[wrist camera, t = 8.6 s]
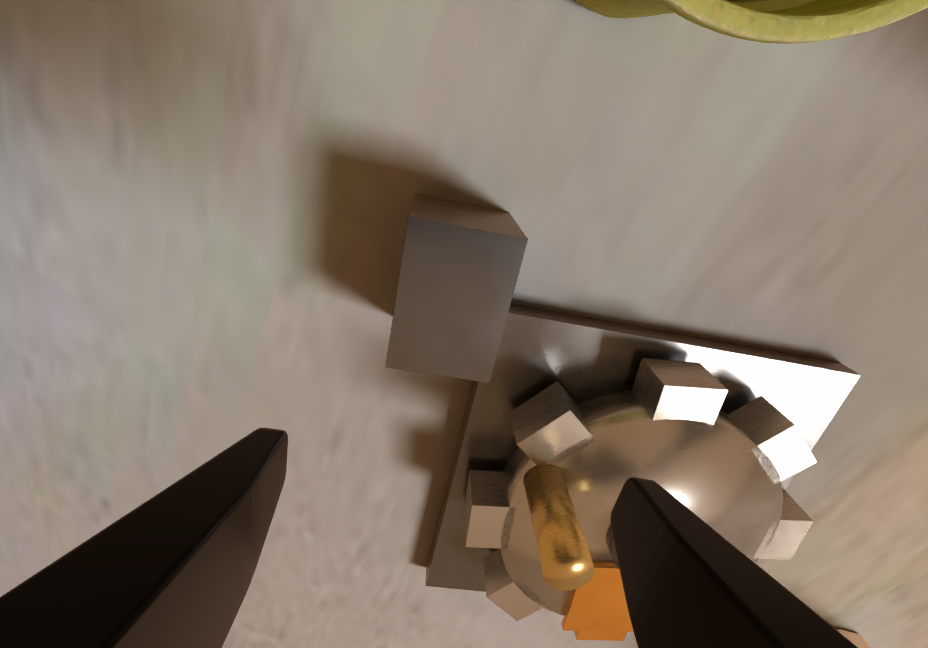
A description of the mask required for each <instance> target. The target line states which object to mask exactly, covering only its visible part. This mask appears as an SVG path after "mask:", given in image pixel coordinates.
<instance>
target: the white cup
mask: <svg viewBox="0 0 928 648" xmlns="http://www.w3.org/2000/svg"><path fill="white" fill-rule="evenodd" d="M837 631H838V632H840V633H841V634H842V635H843V636H845V637H846V638H847V639H848V640H849V641H851V642H852V643H853V644H854V645H856V646H857V647H858V648H871V647H870V646H869V644H868V643H867V642H866V641H865V640H864V639H863V637H862V636H861V635H859V634H856V633H853V632H849V631H846V630H842V629H838V630H837Z"/></svg>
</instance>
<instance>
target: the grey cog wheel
mask: <svg viewBox="0 0 928 648" xmlns="http://www.w3.org/2000/svg"><path fill="white" fill-rule="evenodd" d="M727 392H728V390H727V389H726V388H725V387H724V386H723V385H722V384H721V383H720V382H719V381H718V380H717V379H716V378H715V377H714V376H713V375H712V374H711V373H710V372H709V371H708V370H707V369H706V368H705V367H704V366H702V365H701V364H700V363H699V362H686V361H673V360H660V359H647V358H642V360H641V363H640V366H639V370H638V373H637V376H636V379H635V382H634V386H633V389H632V391H623V392H618V393H614V394H609V395H604V396H601V397H598V398H595V399H592V400H588V401H585V402H583V403H581V404H579V405H577V403H576V402H575V401H574V400H573V399H572V398H571V396H570V395H569V394H568V393H567V392H566V390H565V389H564V388H563V387H562V386H561V385H560V383H559V382H558V381H556V382H555V383H553V384H552V385H550V386H549V387H547V388H546V389H544V390H543V391H541V392H540V393H538V394H537V395H535V396H534V397H532V398H531V399H529V400H528V401H526V402H525V403H523V404H522V405H520V406H519V407H517V408H516V409H514V410H513V411H511V412H510V417H511V421H512V426H513V430H514V434H515V439H516V443H517V445H518V446H519V448H518V449H517V451H516V452H515V453H514V455H513V456H512V458H511V459H510V461H509V462H508V464H507V465H506V468H505V470H504V472H500V471H481V470H469V477H468V483H467V490H466V497H465V504H464V526H465V545H466V547H477V548H499V549H497V550H496V551H494V552H492V553H490V554H489V555H487V556H485V557H484V558H483V563H484V573H485V584H486V595H487V598H489V599H490V600H491V601H492V602H494V603H495V604H496V605H497V606H499V607H500V608H501V609H502V610H504V611H505V612H506V613H508V614H509V615H510V616H511V617H513V618H514V619H515V620H516V621H519V620H521V619H523V618H524V617H526V616H528V615H530V614H532V613H534V612H536V611H538V610H540V609H541V608H543V607H544V608H546V609H548V610H550V611H553V612H555V613H558V614H561V615H564V618H563V621H562V627H563V630H569V631H574V632H575V636H576V640H614V641H623V640H624V638H625V636H626V633H627V632H634V631H633V627H632V624H631V620H630V616H629V612H628V608H627V603H626V599H625V594H624V589H623V584H622V579H621V574H620V569H619V564H618V559H617V554H616V549H615V544H614V539H613V534H612V529H611V521H610V519H611V512H612V509H613V507H614V505H615V502H616V500H617V498H618V496H619V494H620V492H621V490H622V487H623V485H624V483H625V481H626V480H627V479H628V478H631V477H638V478H645V479H651V480H654V481H655V482H657V483H658V484H659V485H660V486H662V487H663V488H664V489H665V490H666V491H668V492H669V493H670V494H671V495H673V496H674V497H675V498H676V499H677V500H679V501H680V502H681V503H682V504H684V505H685V506H686V507H687V508H688V509H690V510H691V511H692V512H693V513H695V514H696V515H697V516H698V517H699V518H701V519H702V520H703V521H704V522H705V523H707V524H708V525H709V526H710V527H712V528H713V529H714V530H715V531H716V532H718V533H719V534H720V535H721V536H723V537H724V538H725V539H726V540H727V541H729V542H730V543H731V544H732V545H734V546H735V547H736V548H737V549H738V550H740V551H741V552H742V553H743V554H745V555H746V556H747V557H748V558H749V559H751V560H752V561H753V562H754V563H755V562H756V561H757V560H758V559H784V560H791V558H792V556H793V555H794V553H795V551H796V550H797V548H798V546H799V545H800V543H801V541H802V540H803V538H804V536H805V535H806V533H807V531H808V530H809V528H810V526H811V524H812V523H813V521H812V519H811V518H810V517H809V516H808V515H807V514H806V513H805V512H804V511H803V510H802V509H801V507H800V506H799V505H798V504H797V503H796V502H795V501H794V500H793V499H792V498H791V496H790V495H789V494H788V493H787V492H786V491H785V490H784V489H783V488H782V484H781V481H783V480H785V479H786V478H788V477H790V476H792V475H794V474H796V473H798V472H800V471H802V470H803V469H805V468H807V467H809V466H811V465H813V464H815V463H817V461H816V460H815V458H814V456H813V455H812V453H811V451H810V450H809V448H808V446H807V444H806V443H805V441H804V439H803V438H802V436H801V434H800V433H799V431H798V429H797V428H796V426H795V425H794V424H793V423H792V422H791V421H790V420H789V419H787V418H786V417H785V416H784V415H783V414H782V413H781V412H780V411H778V410H777V409H776V408H775V407H774V406H773V405H772V404H770V403H769V402H768V401H767V400H766V399H765V398H764V397H762V396H759V397H757V398H756V399H754V400H752V401H751V402H749V403H747V404H745V405H744V406H742V407H740V408H739V409H737V410H735V411H733V412H732V413H730V414H728V415H727V414H726V413H725V412H724V411H722V410H721V409H720V408H721V406H722V404H723V401H724V399H725V396H726V394H727Z"/></svg>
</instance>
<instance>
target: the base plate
mask: <svg viewBox="0 0 928 648" xmlns="http://www.w3.org/2000/svg"><path fill="white" fill-rule="evenodd" d="M642 358H647V359H660V360H673V361H686V362H699V363H700V364H701V365H702V366H704V367H705V368H706V369H707V370H708V371H709V372H710V373H711V374H712V375H713V376H714V377H715V378H716V379H717V380H718V381H719V382H720V383H721V384H722V385H723V386H724V387H725V388H726V389H727V390H728V392H727V394H726V396H725V399H724V401H723V404H722V406H721V408H720V409H721V410H722V411H724V412H725V413H726V414H727V415H728V414H730V413H732V412H733V411H735V410H737V409H739V408H740V407H742V406H744V405H745V404H747V403H749V402H751V401H752V400H754V399H756V398H757V397H759V396H762V397H764V398H765V399H766V400H767V401H768V402H769V403H770V404H772V405H773V406H774V407H775V408H776V409H777V410H778V411H780V412H781V413H782V414H783V415H784V416H785V417H786V418H787V419H789V420H790V421H791V422H792V423H793V424H794V425H795V426H796V428H797V429H798V431H799V433H800V434H801V436H802V438H803V439H804V441H805V443H806V444H807V446H808V448H809V450H810V451H811V450H812V448H813V447H814V445H815V444H816V442H817V441H818V439H819V438H820V436H821V435H822V433H823V432H824V430H825V429H826V427H827V425H828V424H829V422H830V421H831V419H832V418H833V416H834V415H835V413H836V412H837V410H838V409H839V407H840V406H841V404H842V403H843V401H844V400H845V398H846V397H847V395H848V394H849V392H850V391H851V389H852V388H853V386H854V385H855V383H856V382H857V380H858V379H859V377H860V376H861V375H859V374H858V373H856V372H855V371H853V370H851V369H850V368H848V367H847V366H845V365H843V364H841V363H836V362H830V361H825V360H819V359H814V358H808V357H803V356H797V355H791V354H786V353H780V352H775V351H769V350H764V349H758V348H753V347H747V346H742V345H736V344H730V343H725V342H719V341H714V340H708V339H703V338H697V337H692V336H686V335H681V334H675V333H669V332H664V331H658V330H653V329H647V328H642V327H636V326H631V325H625V324H620V323H614V322H608V321H603V320H597V319H592V318H586V317H581V316H575V315H570V314H564V313H559V312H553V311H547V310H542V309H536V308H531V307H525V306H520V305H514V304H510V307H509V311H508V315H507V319H506V322H505V326H504V330H503V334H502V337H501V341H500V345H499V349H498V352H497V356H496V360H495V363H494V367H493V371H492V375H491V378H490V382H489V383H487V382H480V381H474V383H473V387H472V391H471V395H470V398H469V402H468V406H467V410H466V414H465V418H464V422H463V426H462V430H461V434H460V438H459V442H458V446H457V450H456V453H455V457H454V461H453V465H452V469H451V473H450V477H449V481H448V485H447V489H446V493H445V497H444V501H443V505H442V508H441V512H440V516H439V520H438V524H437V528H436V532H435V536H434V540H433V544H432V548H431V552H430V556H429V560H428V563H427V567H426V586H433V587H443V588H454V589H464V590H474V591H485V592H486V584H485V573H484V563H483V558H484V557H485V556H487V555H489V554H490V553H492V552H494V551H496V550H497V549H499V548H477V547H466V545H465V526H464V504H465V497H466V490H467V483H468V477H469V470H481V471H500V472H504V470H505V468H506V465H507V464H508V462H509V461H510V459H511V458H512V456H513V455H514V453H515V452H516V451H517V449H518V448H519V446H518V445H517V443H516V439H515V434H514V430H513V426H512V421H511V417H510V412H511V411H513V410H514V409H516V408H517V407H519V406H520V405H522V404H523V403H525V402H526V401H528V400H529V399H531V398H532V397H534V396H535V395H537V394H538V393H540V392H541V391H543V390H544V389H546V388H547V387H549V386H550V385H552V384H553V383H555V382H556V381H558V382H559V383H560V385H561V386H562V387H563V388H564V389H565V390H566V392H567V393H568V394H569V395H570V396H571V398H572V399H573V400H574V401H575V402H576V403H577V405H579V404H581V403H583V402H585V401H588V400H592V399H595V398H598V397H601V396H604V395H609V394H614V393H618V392H623V391H632V389H633V386H634V382H635V379H636V376H637V373H638V370H639V366H640V363H641V360H642ZM794 475H795V474H794ZM794 475H792V476H790V477H788V478H786V479H785V480H783V481H781V484H782V488H783V489H784V490H785V489H786V487H787V486H788V484H789V483H790V481H791V480H792V478H793V477H794Z"/></svg>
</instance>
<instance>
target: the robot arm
mask: <svg viewBox="0 0 928 648" xmlns="http://www.w3.org/2000/svg"><path fill="white" fill-rule="evenodd" d="M287 447H288V435H287V433H286V432H285V431H284V430H278V429H270V428H259V429H257V430H255V431H253V432H252V433H250V434H249V435H247V436H246V437H244V438H243V439H241V440H240V441H238V442H237V443H235V444H233V445H232V446H230V447H229V448H227V449H226V450H224V451H223V452H221V453H220V454H218V455H217V456H215V457H214V458H212V459H211V460H209V461H208V462H206V463H204V464H203V465H201V466H200V467H198V468H197V469H195V470H194V471H192V472H191V473H189V474H188V475H186V476H185V477H183V478H182V479H180V480H178V481H177V482H175V483H174V484H172V485H171V486H169V487H168V488H166V489H165V490H163V491H162V492H160V493H159V494H157V495H156V496H154V497H153V498H151V499H149V500H148V501H146V502H145V503H143V504H142V505H140V506H139V507H137V508H136V509H134V510H133V511H131V512H130V513H128V514H127V515H125V516H123V517H122V518H120V519H119V520H117V521H116V522H114V523H113V524H111V525H110V526H108V527H107V528H105V529H104V530H102V531H101V532H99V533H98V534H96V535H94V536H93V537H91V538H90V539H88V540H87V541H85V542H84V543H82V544H81V545H79V546H78V547H76V548H75V549H73V550H72V551H70V552H68V553H67V554H65V555H64V556H62V557H61V558H59V559H58V560H56V561H55V562H53V563H52V564H50V565H49V566H47V567H46V568H44V569H42V570H41V571H39V572H38V573H36V574H35V575H33V576H32V577H30V578H29V579H27V580H26V581H24V582H23V583H21V584H20V585H18V586H17V587H15V588H13V589H12V590H10V591H9V592H7V593H6V594H4V595H3V596H1V597H0V648H222V646H223V643H224V641H225V639H226V637H227V635H228V632H229V630H230V628H231V626H232V624H233V621H234V619H235V617H236V615H237V613H238V611H239V608H240V606H241V604H242V602H243V599H244V597H245V595H246V592H247V590H248V588H249V585H250V583H251V580H252V577H253V574H254V572H255V569H256V566H257V563H258V560H259V557H260V554H261V551H262V548H263V545H264V542H265V539H266V536H267V533H268V530H269V527H270V524H271V521H272V518H273V515H274V512H275V509H276V506H277V503H278V500H279V497H280V494H281V491H282V488H283V484H284V480H285V475H286V465H287ZM610 521H611V529H612V534H613V539H614V544H615V549H616V554H617V559H618V564H619V569H620V574H621V579H622V584H623V589H624V594H625V599H626V603H627V608H628V612H629V616H630V620H631V624H632V627H633V631H634V635H635V638H636V641H637V645H638V648H858V647H857V646H856V645H854V644H853V643H852V642H851V641H849V640H848V639H847V638H846V637H845V636H843V635H842V634H841V633H840V632H838V631H837V630H836V629H835V628H834V627H832V626H831V625H830V624H829V623H827V622H826V621H825V620H824V619H823V618H821V617H820V616H819V615H818V614H816V613H815V612H814V611H813V610H812V609H810V608H809V607H808V606H807V605H806V604H804V603H803V602H802V601H801V600H799V599H798V598H797V597H796V596H795V595H793V594H792V593H791V592H790V591H788V590H787V589H786V588H785V587H784V586H782V585H781V584H780V583H779V582H777V581H776V580H775V579H774V578H773V577H771V576H770V575H769V574H768V573H766V572H765V571H764V570H763V569H762V568H760V567H759V566H758V565H757V564H756V563H754V562H753V561H752V560H751V559H749V558H748V557H747V556H746V555H745V554H743V553H742V552H741V551H740V550H738V549H737V548H736V547H735V546H734V545H732V544H731V543H730V542H729V541H727V540H726V539H725V538H724V537H723V536H721V535H720V534H719V533H718V532H716V531H715V530H714V529H713V528H712V527H710V526H709V525H708V524H707V523H705V522H704V521H703V520H702V519H701V518H699V517H698V516H697V515H696V514H695V513H693V512H692V511H691V510H690V509H688V508H687V507H686V506H685V505H684V504H682V503H681V502H680V501H679V500H677V499H676V498H675V497H674V496H673V495H671V494H670V493H669V492H668V491H666V490H665V489H664V488H663V487H662V486H660V485H659V484H658V483H657V482H655V481H654V480H651V479H645V478H638V477H631V478H628V479H627V480H626V481H625V483H624V485H623V487H622V490H621V492H620V494H619V496H618V498H617V500H616V502H615V505H614V507H613V509H612V512H611V519H610Z"/></svg>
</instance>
